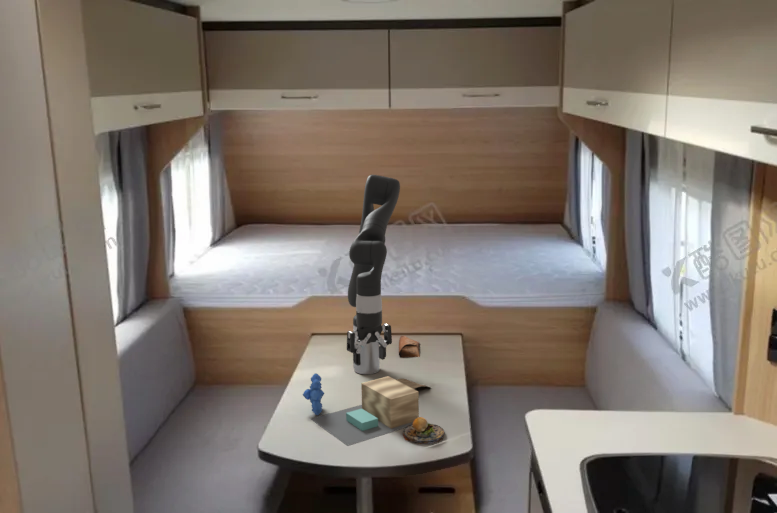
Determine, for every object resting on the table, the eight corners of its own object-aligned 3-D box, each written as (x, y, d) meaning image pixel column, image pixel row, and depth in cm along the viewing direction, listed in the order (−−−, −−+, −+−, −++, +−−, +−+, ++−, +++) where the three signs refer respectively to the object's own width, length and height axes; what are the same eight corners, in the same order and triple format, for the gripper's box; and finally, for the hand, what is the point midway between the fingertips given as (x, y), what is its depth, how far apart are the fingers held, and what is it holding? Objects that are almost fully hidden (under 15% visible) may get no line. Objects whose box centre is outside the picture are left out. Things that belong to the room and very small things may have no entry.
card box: (361, 408, 210) (361, 416, 211) (346, 412, 207) (346, 420, 208) (378, 418, 203) (378, 426, 203) (362, 423, 200) (362, 431, 200)
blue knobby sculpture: (303, 405, 220) (301, 369, 218) (324, 404, 221) (323, 368, 219) (302, 420, 209) (301, 382, 207) (325, 419, 210) (324, 381, 207)
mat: (310, 419, 209) (310, 418, 209) (381, 399, 224) (381, 399, 224) (347, 446, 192) (347, 445, 191) (422, 423, 206) (422, 422, 206)
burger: (450, 443, 193) (450, 418, 192) (410, 449, 190) (410, 423, 189) (435, 425, 205) (435, 402, 203) (397, 431, 201) (397, 407, 200)
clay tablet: (402, 403, 222) (402, 394, 221) (376, 395, 229) (376, 386, 229) (434, 389, 234) (434, 380, 233) (408, 381, 241) (408, 373, 241)
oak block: (362, 410, 215) (361, 383, 213) (388, 403, 220) (388, 376, 219) (391, 428, 202) (390, 399, 200) (418, 420, 207) (418, 391, 206)
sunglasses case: (421, 356, 264) (412, 342, 263) (405, 366, 265) (396, 351, 264) (419, 342, 282) (411, 328, 281) (405, 351, 283) (396, 337, 282)
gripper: (382, 302, 208) (382, 353, 211) (341, 309, 200) (342, 363, 203) (396, 307, 202) (397, 360, 205) (354, 315, 194) (355, 370, 197)
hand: (369, 361), depth 204 cm, fingers open, 8 cm apart
